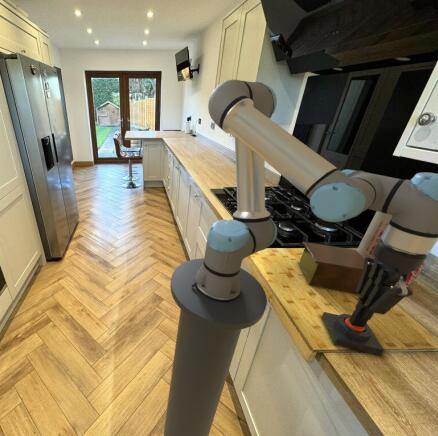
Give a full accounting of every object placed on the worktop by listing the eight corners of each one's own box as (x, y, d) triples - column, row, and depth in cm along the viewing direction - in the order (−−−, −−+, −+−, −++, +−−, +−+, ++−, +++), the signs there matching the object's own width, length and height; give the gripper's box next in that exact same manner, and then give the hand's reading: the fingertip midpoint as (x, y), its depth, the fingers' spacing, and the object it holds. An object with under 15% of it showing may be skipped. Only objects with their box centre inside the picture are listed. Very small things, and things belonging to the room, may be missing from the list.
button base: (334, 344, 60) (340, 334, 58) (321, 317, 68) (326, 307, 66) (380, 355, 58) (388, 345, 56) (361, 326, 65) (368, 315, 64)
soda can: (408, 284, 82) (427, 256, 77) (408, 294, 78) (429, 264, 73) (381, 274, 87) (398, 247, 81) (380, 283, 82) (397, 254, 77)
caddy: (309, 284, 80) (318, 263, 76) (298, 263, 91) (306, 244, 87) (362, 295, 77) (375, 273, 73) (344, 271, 88) (354, 251, 84)
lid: (314, 263, 77) (315, 261, 76) (303, 243, 88) (303, 241, 87) (375, 273, 73) (376, 271, 72) (354, 251, 84) (355, 249, 83)
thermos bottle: (377, 268, 90) (417, 200, 78) (352, 259, 95) (385, 194, 83) (380, 260, 95) (418, 195, 82) (356, 252, 100) (388, 189, 88)
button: (347, 332, 60) (349, 328, 60) (340, 320, 64) (342, 316, 63) (365, 337, 59) (368, 332, 59) (357, 324, 63) (360, 319, 62)
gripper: (450, 268, 44) (389, 350, 54) (403, 235, 55) (360, 308, 65) (402, 260, 46) (351, 341, 56) (365, 229, 57) (329, 302, 67)
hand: (356, 323), depth 61 cm, fingers closed
